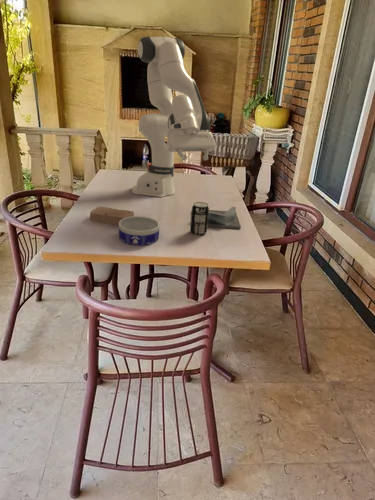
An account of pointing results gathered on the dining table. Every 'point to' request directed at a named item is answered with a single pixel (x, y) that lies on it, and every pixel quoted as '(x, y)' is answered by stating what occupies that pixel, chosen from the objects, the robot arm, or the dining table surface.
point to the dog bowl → (139, 230)
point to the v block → (223, 219)
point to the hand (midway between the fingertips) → (195, 159)
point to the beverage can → (199, 218)
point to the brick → (109, 215)
